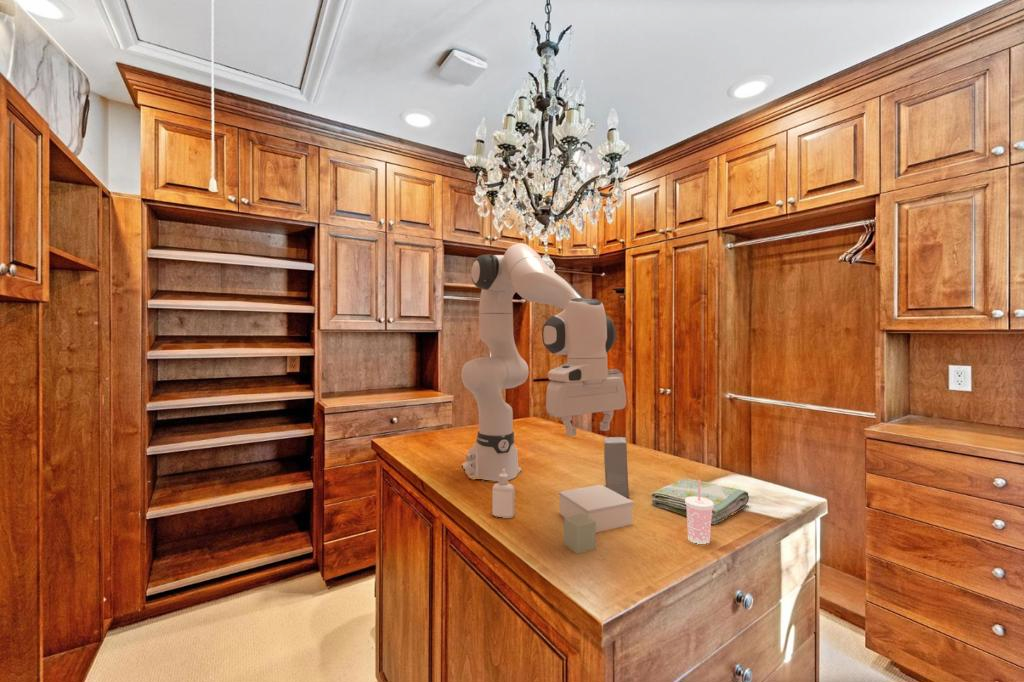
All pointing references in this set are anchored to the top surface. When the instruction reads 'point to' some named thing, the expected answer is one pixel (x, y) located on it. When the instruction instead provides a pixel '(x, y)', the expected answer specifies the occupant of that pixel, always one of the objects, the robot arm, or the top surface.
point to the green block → (579, 533)
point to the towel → (720, 495)
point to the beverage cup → (699, 518)
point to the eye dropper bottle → (503, 497)
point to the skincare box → (616, 465)
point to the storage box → (597, 506)
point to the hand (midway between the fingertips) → (588, 432)
